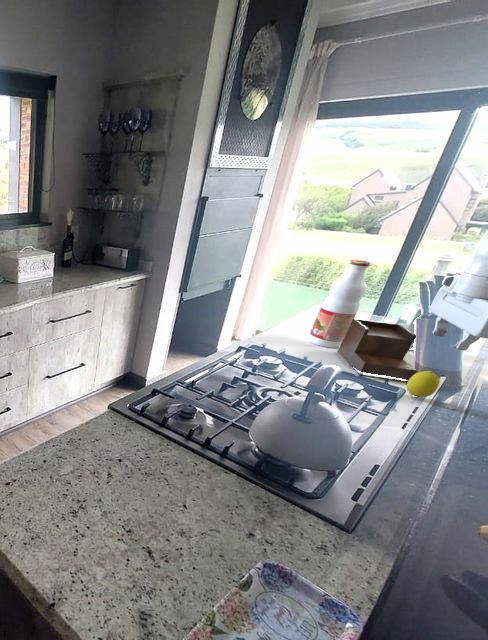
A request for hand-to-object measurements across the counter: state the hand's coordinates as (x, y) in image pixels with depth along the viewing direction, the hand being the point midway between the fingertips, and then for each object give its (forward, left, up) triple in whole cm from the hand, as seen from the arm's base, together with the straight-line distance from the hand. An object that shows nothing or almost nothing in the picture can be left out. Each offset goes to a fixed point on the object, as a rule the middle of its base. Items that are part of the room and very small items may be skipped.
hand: (448, 342), depth 100 cm
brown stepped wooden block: (+3, -19, -16) cm, 25 cm away
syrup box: (-13, -42, -16) cm, 47 cm away
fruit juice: (+11, -35, -16) cm, 40 cm away
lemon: (0, 0, -16) cm, 16 cm away
